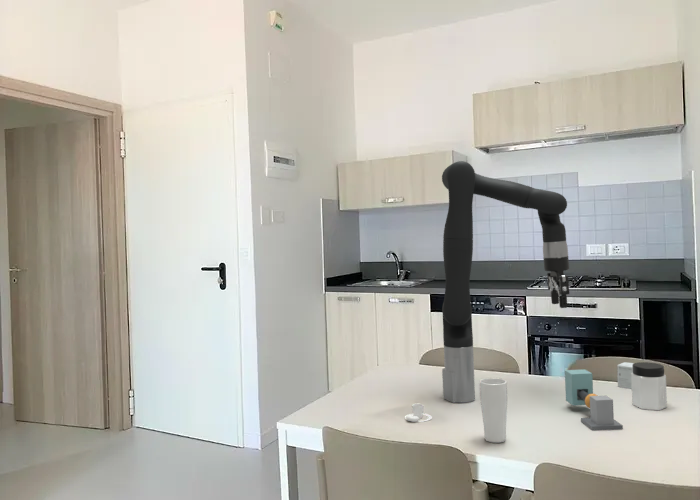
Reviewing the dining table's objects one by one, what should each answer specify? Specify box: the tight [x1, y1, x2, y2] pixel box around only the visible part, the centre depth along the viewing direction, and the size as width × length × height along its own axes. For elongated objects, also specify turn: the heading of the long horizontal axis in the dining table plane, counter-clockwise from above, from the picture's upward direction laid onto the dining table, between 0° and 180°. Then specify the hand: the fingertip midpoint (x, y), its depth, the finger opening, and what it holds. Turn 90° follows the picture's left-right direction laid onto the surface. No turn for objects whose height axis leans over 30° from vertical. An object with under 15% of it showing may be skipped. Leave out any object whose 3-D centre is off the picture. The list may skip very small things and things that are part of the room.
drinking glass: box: [479, 377, 508, 444], centre depth 140 cm, size 7×7×15 cm
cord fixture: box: [577, 389, 624, 431], centre depth 155 cm, size 23×8×8 cm, turn 0°
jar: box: [631, 361, 668, 411], centre depth 162 cm, size 9×8×12 cm
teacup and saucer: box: [404, 402, 433, 423], centre depth 160 cm, size 9×8×4 cm
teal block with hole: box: [564, 369, 594, 406], centre depth 161 cm, size 5×6×9 cm
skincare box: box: [616, 361, 635, 390], centre depth 183 cm, size 6×6×7 cm
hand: (559, 305), depth 178 cm, fingers open, 8 cm apart
